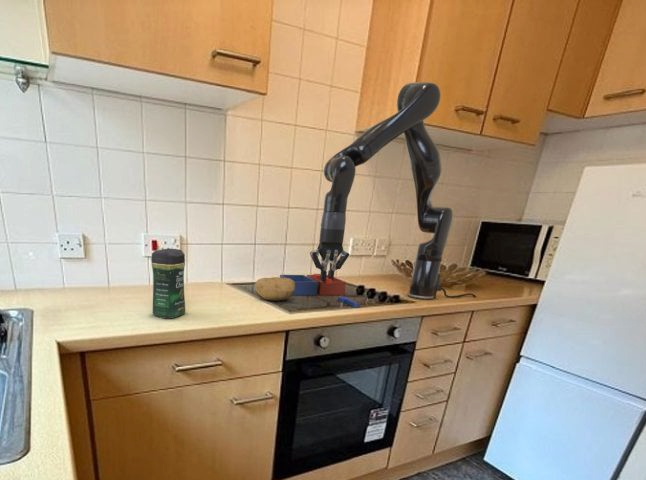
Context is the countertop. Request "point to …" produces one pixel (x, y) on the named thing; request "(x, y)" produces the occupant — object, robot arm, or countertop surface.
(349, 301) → the blue spoon
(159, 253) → the coffee jar
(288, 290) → the potato
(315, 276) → the red spoon
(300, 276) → the blue bin
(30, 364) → the countertop surface
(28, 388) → the countertop surface
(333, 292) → the red bin
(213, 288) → the countertop surface
